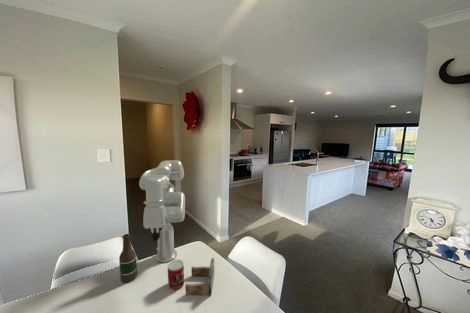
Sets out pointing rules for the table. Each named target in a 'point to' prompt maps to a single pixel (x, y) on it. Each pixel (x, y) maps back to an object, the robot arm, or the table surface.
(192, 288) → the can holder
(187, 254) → the table surface
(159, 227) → the robot arm
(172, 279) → the canned food
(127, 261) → the beer bottle
